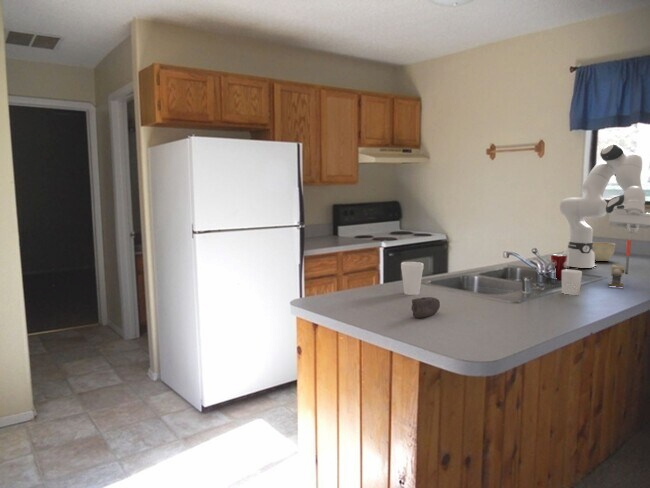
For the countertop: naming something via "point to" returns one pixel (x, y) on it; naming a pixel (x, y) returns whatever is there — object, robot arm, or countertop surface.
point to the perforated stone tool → (425, 306)
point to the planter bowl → (603, 250)
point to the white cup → (571, 281)
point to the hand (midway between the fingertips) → (632, 232)
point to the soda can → (559, 264)
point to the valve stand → (616, 276)
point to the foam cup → (412, 277)
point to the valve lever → (627, 255)
